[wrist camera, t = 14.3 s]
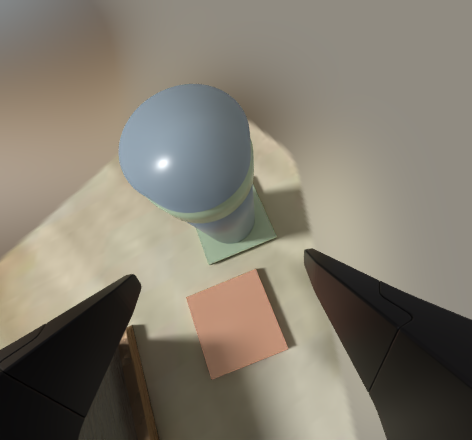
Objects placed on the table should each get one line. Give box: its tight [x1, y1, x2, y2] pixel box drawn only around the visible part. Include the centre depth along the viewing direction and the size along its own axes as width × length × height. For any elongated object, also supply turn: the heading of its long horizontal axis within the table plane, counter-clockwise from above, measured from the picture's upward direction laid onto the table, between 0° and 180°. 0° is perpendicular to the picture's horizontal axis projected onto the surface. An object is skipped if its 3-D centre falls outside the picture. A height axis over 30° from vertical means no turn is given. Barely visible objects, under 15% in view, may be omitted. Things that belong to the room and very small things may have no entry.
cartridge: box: [119, 84, 255, 244], centre depth 13 cm, size 5×5×12 cm
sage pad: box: [196, 185, 277, 265], centre depth 20 cm, size 7×7×1 cm
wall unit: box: [79, 325, 159, 440], centre depth 13 cm, size 10×5×9 cm, turn 22°
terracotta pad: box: [186, 269, 288, 380], centre depth 18 cm, size 7×7×1 cm
